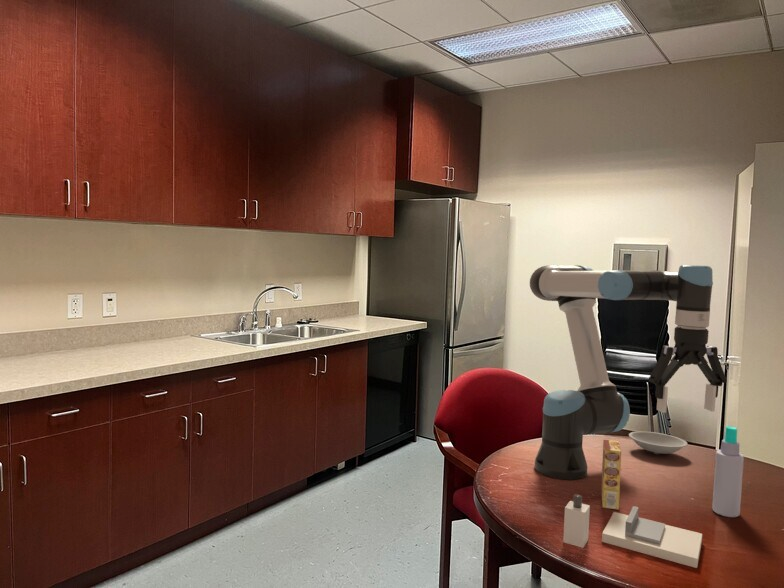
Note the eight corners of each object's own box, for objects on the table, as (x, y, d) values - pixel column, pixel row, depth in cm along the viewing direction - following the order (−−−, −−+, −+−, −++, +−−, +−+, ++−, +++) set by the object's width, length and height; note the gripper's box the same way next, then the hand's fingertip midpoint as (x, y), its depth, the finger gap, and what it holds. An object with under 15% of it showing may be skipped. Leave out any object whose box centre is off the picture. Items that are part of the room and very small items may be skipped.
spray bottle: (711, 513, 144) (716, 428, 143) (713, 505, 149) (718, 422, 148) (738, 520, 141) (745, 433, 139) (740, 511, 146) (746, 427, 144)
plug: (563, 542, 128) (565, 497, 127) (568, 534, 132) (570, 490, 131) (583, 547, 126) (585, 502, 125) (588, 539, 129) (590, 495, 129)
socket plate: (601, 541, 128) (602, 533, 128) (613, 519, 139) (614, 511, 139) (697, 568, 118) (697, 558, 118) (701, 542, 129) (702, 533, 129)
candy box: (619, 510, 145) (622, 451, 144) (601, 508, 146) (604, 449, 145) (616, 496, 153) (619, 440, 152) (600, 494, 154) (602, 438, 153)
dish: (624, 454, 187) (624, 439, 186) (632, 442, 199) (632, 428, 199) (684, 466, 177) (685, 450, 177) (688, 453, 190) (689, 438, 189)
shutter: (624, 535, 127) (625, 521, 127) (632, 519, 135) (633, 505, 135) (659, 544, 124) (660, 530, 123) (664, 527, 132) (665, 513, 132)
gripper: (656, 329, 136) (650, 416, 138) (747, 329, 141) (740, 413, 142) (637, 324, 143) (631, 407, 145) (724, 325, 148) (717, 405, 150)
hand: (685, 410), depth 144 cm, fingers open, 13 cm apart
